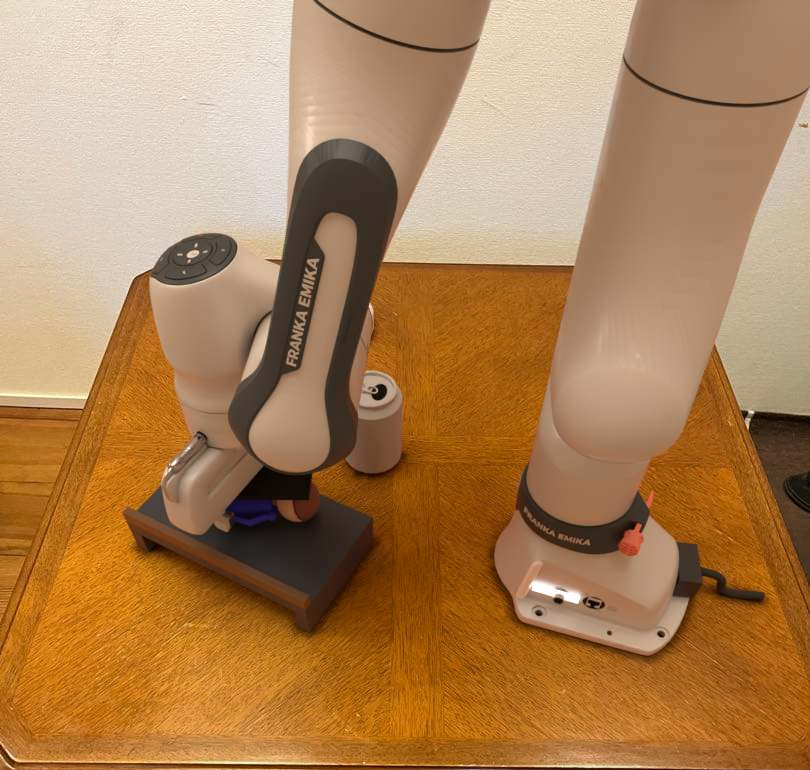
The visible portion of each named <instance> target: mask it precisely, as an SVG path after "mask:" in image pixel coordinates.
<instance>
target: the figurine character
mask: <svg viewBox="0 0 810 770" xmlns="http://www.w3.org/2000/svg"><path fill="white" fill-rule="evenodd" d="M313 474H314V473H311V474H305V475H288V474H283V473H279V472H276V471H274V470H271V469H269V468H267V467H266V466H263V467H262V468H261V469H260V470H259V472H258V473H257V474H256V475H255V476H254V477H253V478H252V480H251V481H250V482H249V483H248V484H247V485H246V486H245V488H244V489H243V490H242V491H241V492H240V493H239V494H238V496H237V497H236V498H235V499H234V500H233V501H232V502H231V504H230V505H229V506H228V507H227V508H226V509H225V510H226V512H228V511H229V512H231V513H233V514H234V516H235V520H236V522H238V523H241V524H244V525H247V526H252V525H255V524H258V523H260V522H263V521H266V520H269V521H274V520H275V519H276V511H277V508H278V510H279V512H280V513H281V515H282V516H283V517H285V518H286V519H288V520H290V521H293V522H304V521H307V520H309V519H310V518H312V517H313V516H314V515H315V514H316V512H317V511H318V509H319V506H320V494H321V493H320V491H319V489H318V487H317V485H315V483H313ZM248 515H261V516H258V517H255V518H252V519H250V520H249V519H246V518H243V517H240V516H248Z"/></svg>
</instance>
